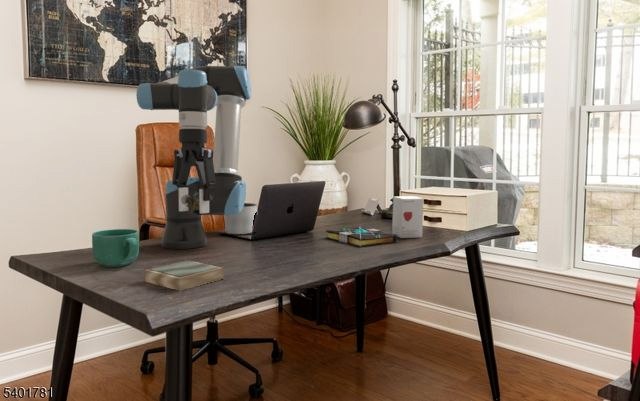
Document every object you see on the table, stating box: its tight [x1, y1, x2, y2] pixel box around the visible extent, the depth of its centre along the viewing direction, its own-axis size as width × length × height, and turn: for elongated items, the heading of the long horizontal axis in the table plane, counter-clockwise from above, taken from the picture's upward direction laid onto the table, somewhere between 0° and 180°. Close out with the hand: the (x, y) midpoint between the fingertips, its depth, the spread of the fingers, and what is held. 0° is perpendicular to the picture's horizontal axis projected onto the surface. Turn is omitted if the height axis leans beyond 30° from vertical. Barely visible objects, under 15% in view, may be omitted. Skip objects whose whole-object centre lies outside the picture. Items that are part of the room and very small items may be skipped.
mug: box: [91, 228, 140, 268], centre depth 153 cm, size 17×13×10 cm
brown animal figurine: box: [181, 190, 214, 213], centre depth 149 cm, size 8×7×9 cm
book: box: [325, 226, 398, 248], centre depth 195 cm, size 22×17×5 cm
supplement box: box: [391, 195, 424, 239], centre depth 204 cm, size 9×9×15 cm
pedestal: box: [144, 260, 225, 292], centre depth 137 cm, size 14×14×3 cm
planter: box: [224, 202, 258, 235], centre depth 209 cm, size 12×13×11 cm
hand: (193, 211), depth 147 cm, fingers closed on brown animal figurine, 8 cm apart
